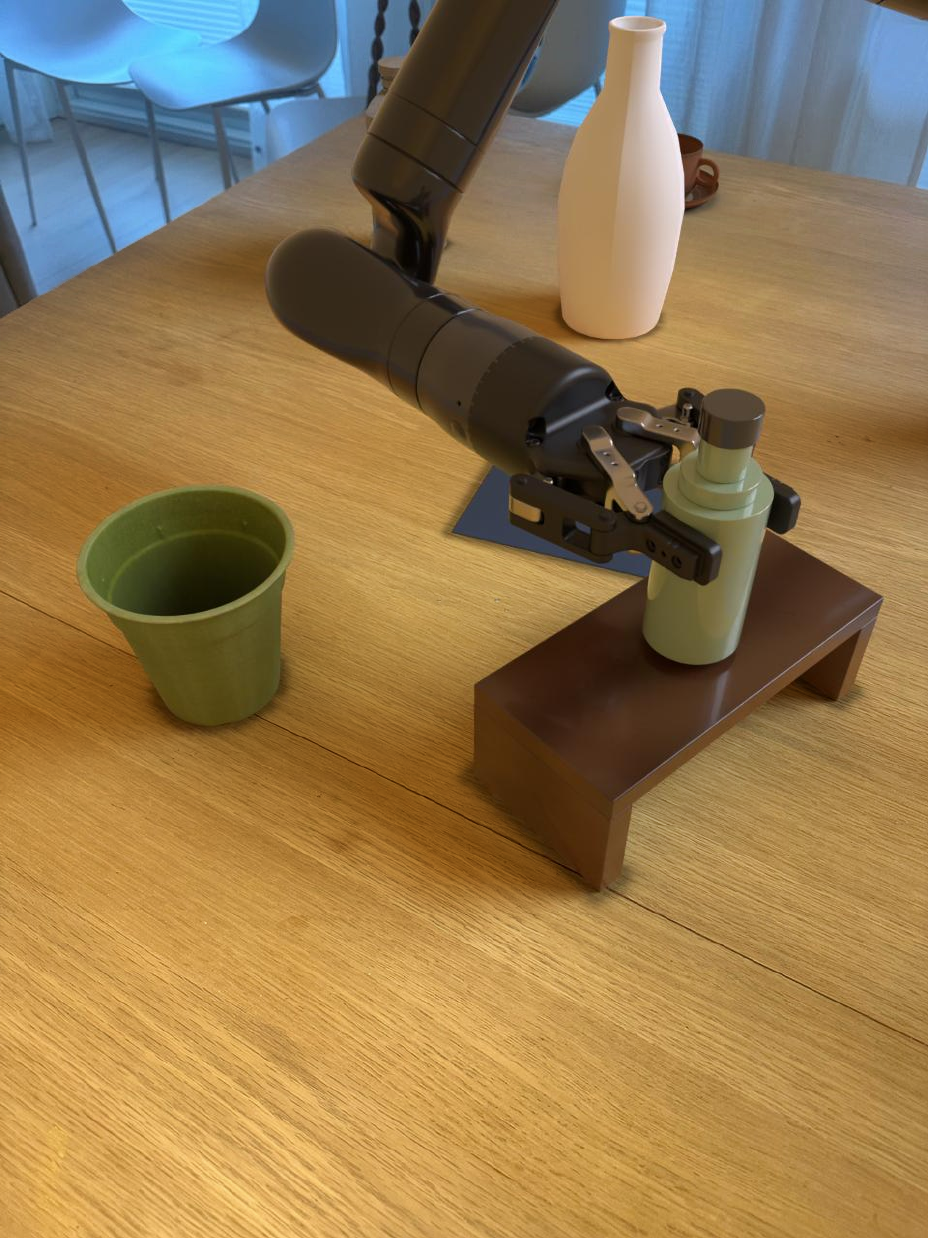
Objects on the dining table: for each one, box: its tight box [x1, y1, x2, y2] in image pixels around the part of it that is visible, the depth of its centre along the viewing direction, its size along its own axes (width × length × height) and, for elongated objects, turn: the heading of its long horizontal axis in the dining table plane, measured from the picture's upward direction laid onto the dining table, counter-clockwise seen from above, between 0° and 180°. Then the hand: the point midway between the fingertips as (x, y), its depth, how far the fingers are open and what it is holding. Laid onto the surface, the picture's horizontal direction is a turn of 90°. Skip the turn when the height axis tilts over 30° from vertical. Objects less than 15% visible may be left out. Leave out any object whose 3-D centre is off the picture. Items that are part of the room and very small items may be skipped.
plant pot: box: [75, 484, 296, 727], centre depth 62 cm, size 12×12×11 cm
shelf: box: [473, 528, 885, 893], centre depth 60 cm, size 10×22×8 cm, turn 130°
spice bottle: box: [642, 388, 774, 665], centre depth 52 cm, size 5×5×14 cm
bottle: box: [556, 15, 686, 340], centre depth 92 cm, size 11×11×25 cm
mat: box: [451, 463, 676, 579], centre depth 79 cm, size 16×14×1 cm
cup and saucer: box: [677, 132, 720, 210], centre depth 120 cm, size 12×12×6 cm
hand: (754, 541), depth 50 cm, fingers closed on spice bottle, 5 cm apart
